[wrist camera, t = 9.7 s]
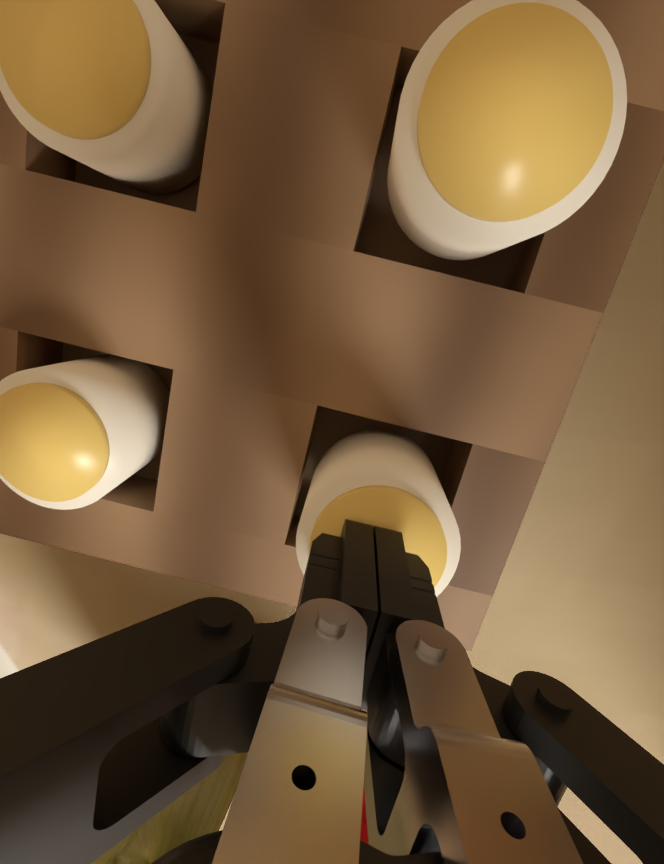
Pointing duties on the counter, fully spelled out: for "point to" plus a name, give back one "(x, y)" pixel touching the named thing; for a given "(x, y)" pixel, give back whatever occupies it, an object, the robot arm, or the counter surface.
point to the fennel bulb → (182, 817)
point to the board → (309, 299)
